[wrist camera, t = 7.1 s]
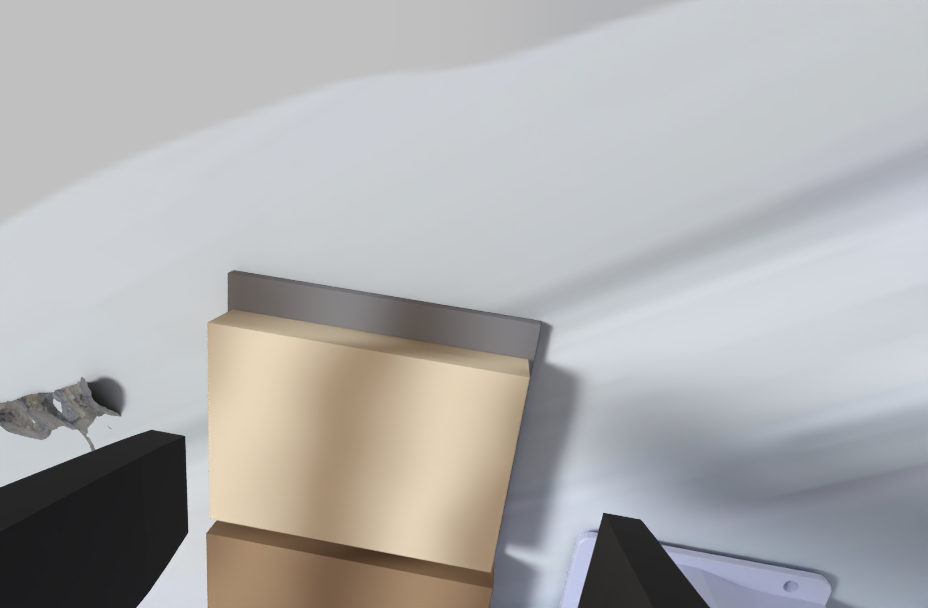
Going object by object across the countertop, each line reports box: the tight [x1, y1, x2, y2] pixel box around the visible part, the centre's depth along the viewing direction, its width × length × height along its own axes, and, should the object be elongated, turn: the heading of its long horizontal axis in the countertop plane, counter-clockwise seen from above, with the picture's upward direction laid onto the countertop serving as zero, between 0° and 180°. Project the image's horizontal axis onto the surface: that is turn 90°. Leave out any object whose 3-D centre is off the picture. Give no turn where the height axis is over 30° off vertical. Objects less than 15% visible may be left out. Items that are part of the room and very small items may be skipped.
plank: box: [208, 310, 530, 573], centre depth 17 cm, size 11×8×2 cm
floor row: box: [206, 271, 541, 608], centre depth 18 cm, size 11×16×2 cm
